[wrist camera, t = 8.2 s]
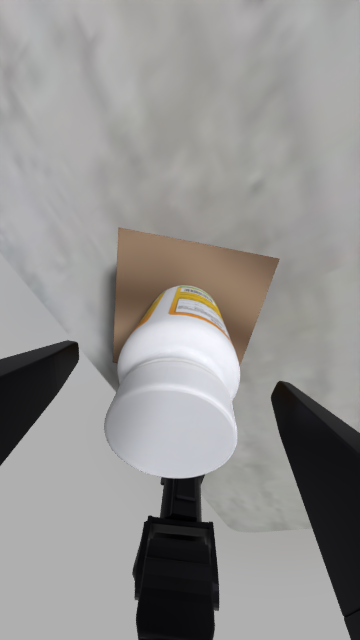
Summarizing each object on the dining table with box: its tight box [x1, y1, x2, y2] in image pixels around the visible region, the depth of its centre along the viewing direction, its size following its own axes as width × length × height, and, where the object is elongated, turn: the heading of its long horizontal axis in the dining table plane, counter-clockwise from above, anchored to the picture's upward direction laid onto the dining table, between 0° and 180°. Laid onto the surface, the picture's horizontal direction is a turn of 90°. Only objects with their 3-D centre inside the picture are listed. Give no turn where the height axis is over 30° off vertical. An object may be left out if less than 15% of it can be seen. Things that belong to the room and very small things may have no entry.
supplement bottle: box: [104, 286, 240, 478], centre depth 10 cm, size 5×5×10 cm
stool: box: [113, 227, 279, 367], centre depth 17 cm, size 11×11×5 cm
